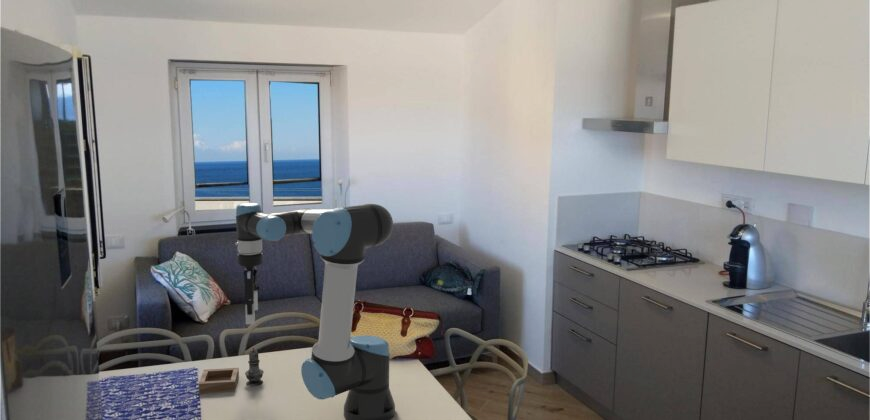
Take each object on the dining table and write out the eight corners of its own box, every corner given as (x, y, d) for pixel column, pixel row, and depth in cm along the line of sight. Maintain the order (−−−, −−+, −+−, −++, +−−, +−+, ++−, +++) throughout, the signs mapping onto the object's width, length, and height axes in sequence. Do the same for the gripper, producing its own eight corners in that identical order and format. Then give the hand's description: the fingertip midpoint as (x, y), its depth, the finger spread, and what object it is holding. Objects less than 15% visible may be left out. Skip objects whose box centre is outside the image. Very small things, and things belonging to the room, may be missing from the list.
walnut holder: (235, 391, 209) (235, 381, 208) (199, 393, 207) (198, 383, 206) (238, 376, 220) (238, 367, 219) (204, 379, 218) (203, 369, 217)
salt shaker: (258, 387, 212) (257, 352, 210) (242, 385, 213) (240, 350, 211) (267, 380, 218) (265, 345, 216) (250, 378, 219) (249, 343, 217)
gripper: (241, 243, 219) (243, 305, 223) (233, 262, 195) (235, 330, 199) (264, 243, 221) (266, 304, 224) (259, 261, 197) (261, 329, 200)
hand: (252, 316), depth 212 cm, fingers open, 13 cm apart
